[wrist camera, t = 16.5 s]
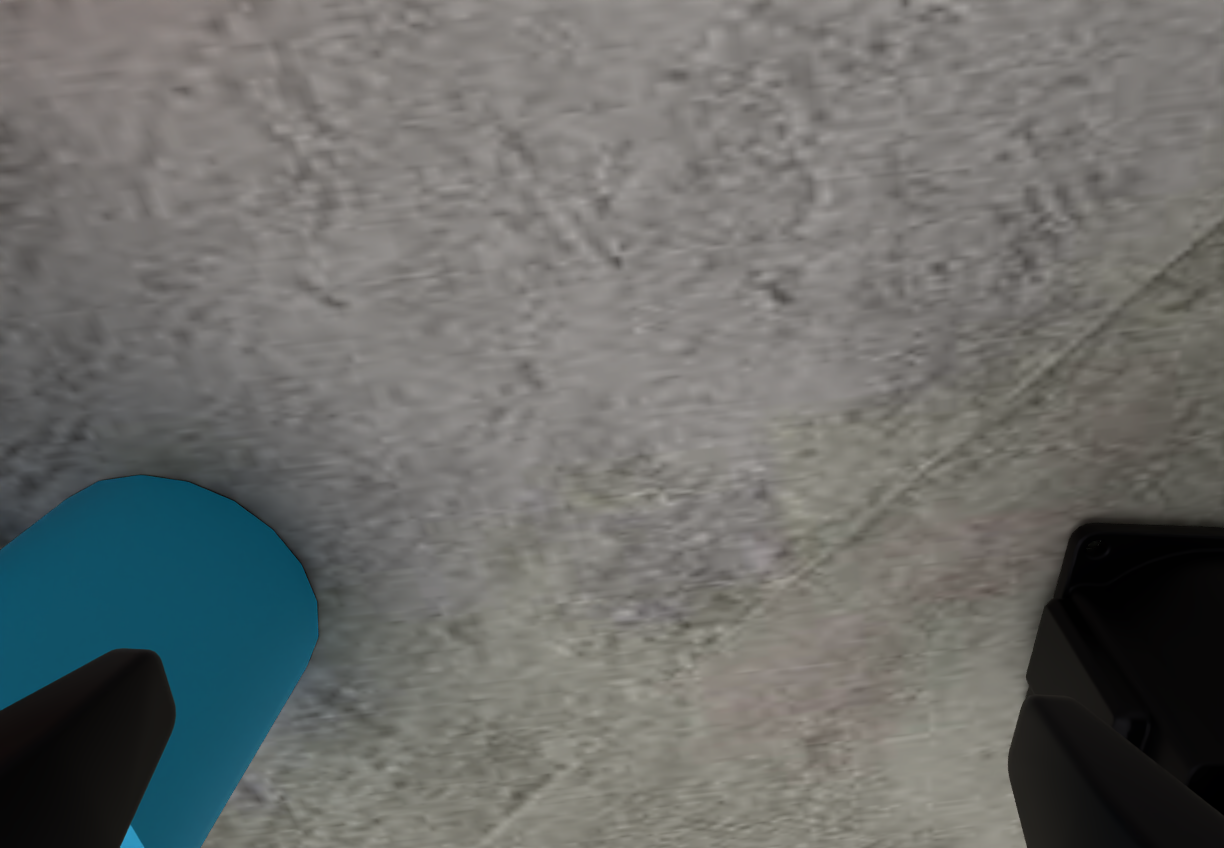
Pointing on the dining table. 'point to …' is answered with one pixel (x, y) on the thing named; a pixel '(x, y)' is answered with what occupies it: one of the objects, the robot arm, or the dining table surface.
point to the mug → (164, 627)
